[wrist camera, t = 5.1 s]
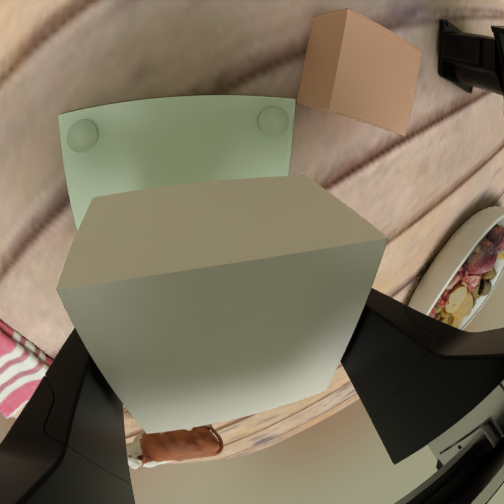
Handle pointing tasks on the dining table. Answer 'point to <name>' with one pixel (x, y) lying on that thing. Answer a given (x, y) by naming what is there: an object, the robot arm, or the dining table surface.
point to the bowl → (464, 270)
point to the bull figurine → (173, 446)
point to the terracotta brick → (359, 71)
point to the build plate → (173, 143)
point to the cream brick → (218, 295)
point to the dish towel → (18, 370)
